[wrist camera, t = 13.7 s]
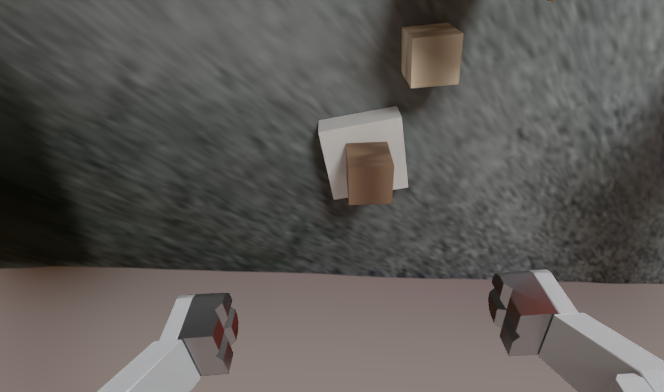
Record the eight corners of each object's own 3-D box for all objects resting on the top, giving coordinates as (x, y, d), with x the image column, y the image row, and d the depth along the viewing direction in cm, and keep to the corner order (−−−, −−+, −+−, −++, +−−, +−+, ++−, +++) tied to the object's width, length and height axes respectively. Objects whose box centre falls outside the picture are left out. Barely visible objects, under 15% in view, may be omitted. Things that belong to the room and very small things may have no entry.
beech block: (447, 22, 42) (463, 33, 37) (443, 68, 45) (458, 84, 40) (402, 26, 42) (412, 38, 37) (401, 72, 45) (410, 88, 40)
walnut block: (387, 141, 46) (394, 166, 41) (385, 176, 49) (391, 203, 44) (345, 143, 46) (348, 167, 41) (346, 178, 49) (348, 205, 44)
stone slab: (396, 104, 47) (401, 117, 44) (403, 171, 53) (408, 187, 50) (318, 119, 48) (318, 132, 45) (333, 183, 54) (333, 199, 51)
